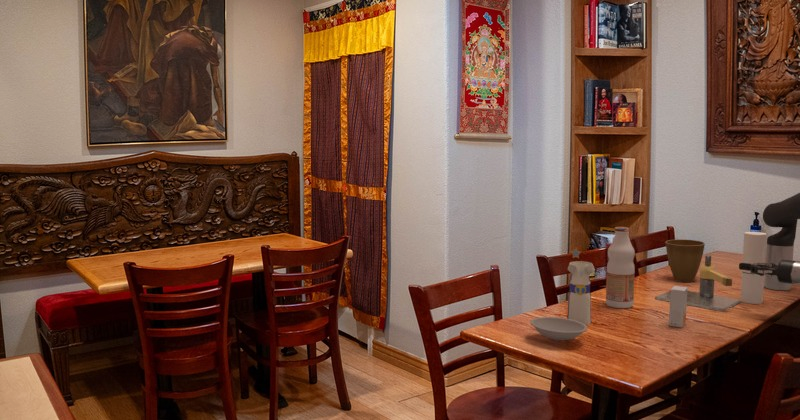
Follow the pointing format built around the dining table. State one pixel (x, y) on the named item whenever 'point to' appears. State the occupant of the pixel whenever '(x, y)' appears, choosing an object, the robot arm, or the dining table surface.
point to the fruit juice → (620, 271)
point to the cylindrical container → (752, 254)
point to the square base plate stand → (705, 295)
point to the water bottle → (580, 290)
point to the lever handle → (714, 275)
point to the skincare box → (678, 306)
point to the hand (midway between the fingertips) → (739, 265)
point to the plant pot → (684, 258)
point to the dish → (558, 327)
